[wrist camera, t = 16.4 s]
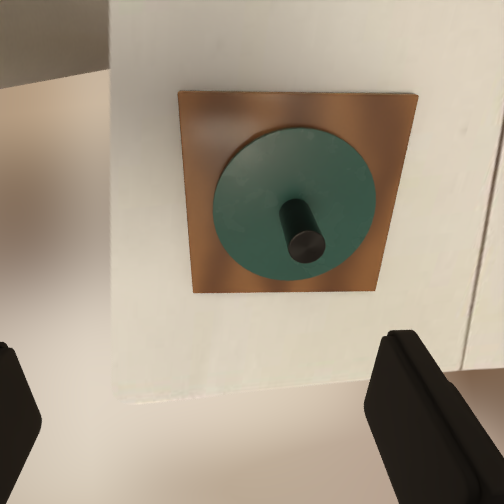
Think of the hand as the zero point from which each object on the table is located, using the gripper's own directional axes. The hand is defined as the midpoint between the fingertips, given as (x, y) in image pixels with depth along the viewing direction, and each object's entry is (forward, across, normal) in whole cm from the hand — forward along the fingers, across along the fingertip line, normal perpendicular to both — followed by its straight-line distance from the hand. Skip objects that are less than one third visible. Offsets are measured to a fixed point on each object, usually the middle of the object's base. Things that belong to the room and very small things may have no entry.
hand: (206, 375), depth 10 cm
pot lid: (+21, -6, +5) cm, 23 cm away
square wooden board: (+23, -6, +4) cm, 24 cm away
